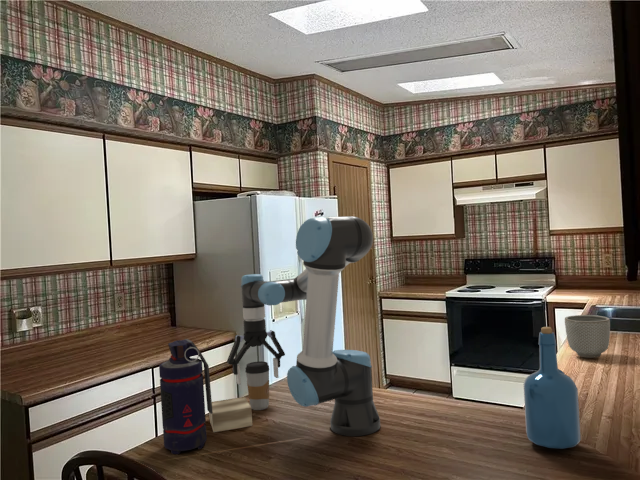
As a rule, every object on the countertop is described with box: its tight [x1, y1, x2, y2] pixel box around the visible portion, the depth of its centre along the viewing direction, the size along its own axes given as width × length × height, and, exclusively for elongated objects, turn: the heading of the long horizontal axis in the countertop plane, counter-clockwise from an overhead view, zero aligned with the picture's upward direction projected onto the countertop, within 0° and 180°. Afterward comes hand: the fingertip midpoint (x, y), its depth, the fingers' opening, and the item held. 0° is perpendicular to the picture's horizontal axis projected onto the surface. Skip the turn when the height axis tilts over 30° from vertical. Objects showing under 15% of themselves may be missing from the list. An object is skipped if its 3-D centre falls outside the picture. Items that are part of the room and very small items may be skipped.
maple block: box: [208, 396, 253, 433], centre depth 164 cm, size 12×12×6 cm
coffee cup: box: [245, 361, 270, 411], centre depth 178 cm, size 8×8×15 cm
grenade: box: [158, 338, 213, 455], centre depth 147 cm, size 14×12×30 cm
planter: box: [564, 314, 611, 359], centre depth 221 cm, size 17×17×16 cm
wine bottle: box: [523, 326, 581, 450], centre depth 136 cm, size 14×13×30 cm
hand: (257, 380), depth 178 cm, fingers open, 13 cm apart
